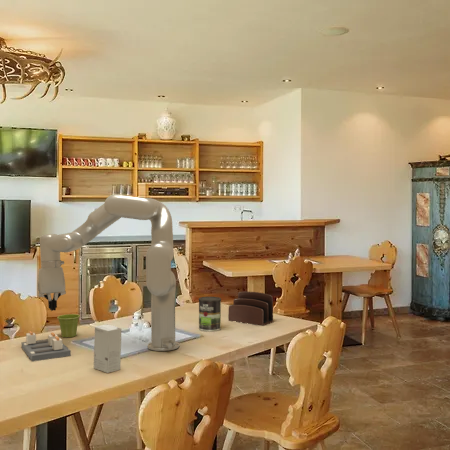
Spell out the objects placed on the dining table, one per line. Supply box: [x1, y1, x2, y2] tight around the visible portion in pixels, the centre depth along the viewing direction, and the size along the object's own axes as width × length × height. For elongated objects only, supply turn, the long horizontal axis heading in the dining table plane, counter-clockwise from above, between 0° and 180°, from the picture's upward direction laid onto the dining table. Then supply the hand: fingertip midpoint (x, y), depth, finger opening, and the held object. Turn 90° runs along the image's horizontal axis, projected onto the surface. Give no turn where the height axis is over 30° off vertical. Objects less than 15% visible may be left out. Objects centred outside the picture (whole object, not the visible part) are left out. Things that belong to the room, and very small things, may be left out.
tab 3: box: [52, 336, 63, 350], centre depth 202 cm, size 4×3×4 cm
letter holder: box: [227, 291, 274, 327], centre depth 258 cm, size 10×20×14 cm, turn 56°
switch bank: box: [21, 338, 72, 362], centre depth 207 cm, size 22×14×2 cm, turn 30°
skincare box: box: [93, 324, 122, 374], centre depth 184 cm, size 8×6×15 cm
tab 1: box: [25, 330, 37, 344], centre depth 211 cm, size 4×3×4 cm
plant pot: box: [57, 313, 81, 338], centre depth 231 cm, size 9×9×9 cm
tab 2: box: [47, 332, 59, 346], centre depth 208 cm, size 4×3×4 cm
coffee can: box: [198, 296, 222, 332], centre depth 243 cm, size 10×10×14 cm
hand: (52, 310), depth 214 cm, fingers closed
